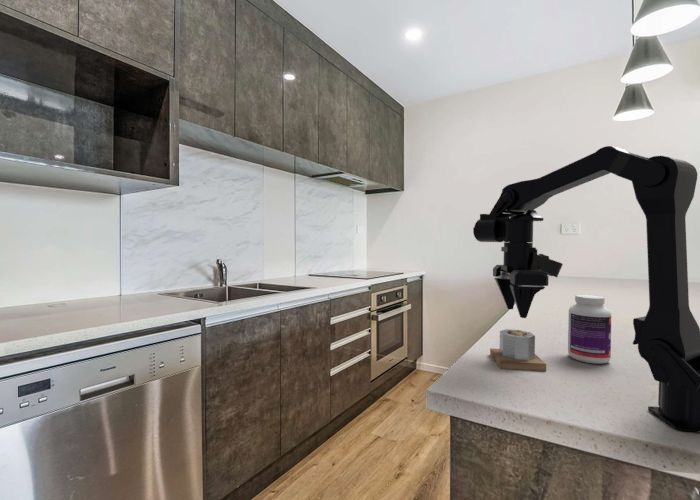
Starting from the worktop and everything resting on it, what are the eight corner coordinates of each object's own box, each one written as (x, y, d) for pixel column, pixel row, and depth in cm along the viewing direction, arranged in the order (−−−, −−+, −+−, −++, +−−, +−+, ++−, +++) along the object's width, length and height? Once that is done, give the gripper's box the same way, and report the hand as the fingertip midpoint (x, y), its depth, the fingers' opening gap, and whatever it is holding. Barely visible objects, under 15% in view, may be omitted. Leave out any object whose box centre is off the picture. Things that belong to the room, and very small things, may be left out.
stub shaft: (546, 371, 73) (546, 339, 72) (500, 368, 74) (500, 337, 74) (530, 356, 81) (531, 329, 81) (490, 354, 83) (490, 327, 83)
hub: (537, 361, 74) (538, 338, 74) (505, 359, 75) (505, 336, 75) (527, 351, 80) (527, 330, 80) (497, 350, 81) (497, 329, 81)
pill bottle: (618, 366, 75) (619, 300, 75) (576, 364, 77) (578, 298, 77) (599, 354, 83) (601, 294, 83) (562, 352, 85) (563, 293, 84)
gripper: (578, 243, 67) (576, 325, 67) (541, 242, 85) (539, 306, 86) (516, 242, 68) (514, 322, 69) (492, 242, 87) (491, 305, 87)
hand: (516, 313), depth 78 cm, fingers open, 9 cm apart
